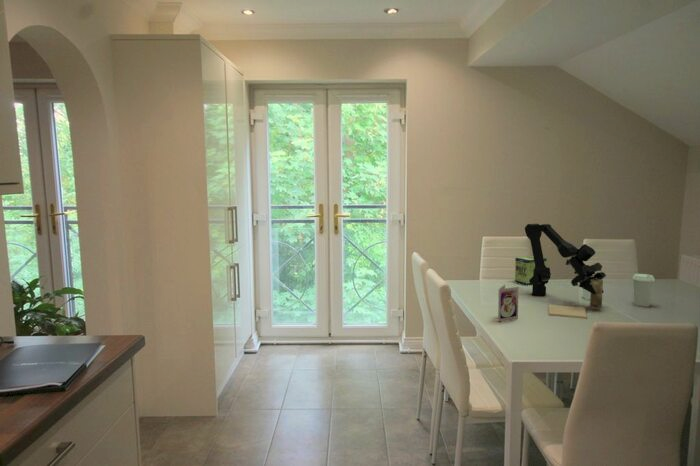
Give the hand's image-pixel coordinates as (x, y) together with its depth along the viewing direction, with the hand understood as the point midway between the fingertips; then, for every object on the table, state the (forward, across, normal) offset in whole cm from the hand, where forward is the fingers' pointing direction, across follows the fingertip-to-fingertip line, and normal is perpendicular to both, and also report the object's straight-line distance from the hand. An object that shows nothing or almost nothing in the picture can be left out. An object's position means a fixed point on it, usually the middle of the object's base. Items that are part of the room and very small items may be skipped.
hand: (599, 293), depth 221 cm
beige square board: (+2, -15, +10) cm, 18 cm away
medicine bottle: (-6, +17, +18) cm, 25 cm away
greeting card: (-2, -49, +14) cm, 51 cm away
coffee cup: (+9, +27, +3) cm, 29 cm away
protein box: (-36, +19, +48) cm, 63 cm away
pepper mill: (+4, 0, +6) cm, 7 cm away
